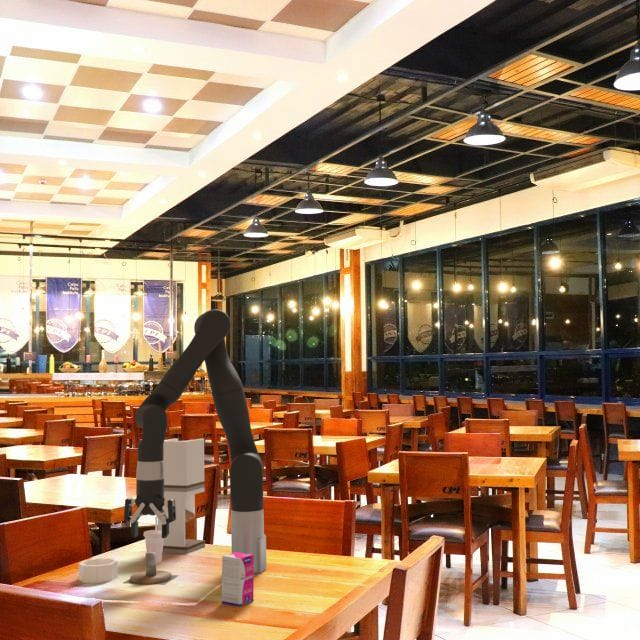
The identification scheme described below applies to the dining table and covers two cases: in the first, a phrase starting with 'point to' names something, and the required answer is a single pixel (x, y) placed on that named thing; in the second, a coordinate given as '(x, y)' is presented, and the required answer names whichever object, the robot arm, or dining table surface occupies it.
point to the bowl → (98, 570)
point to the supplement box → (237, 578)
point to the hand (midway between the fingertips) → (149, 537)
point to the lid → (150, 572)
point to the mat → (156, 583)
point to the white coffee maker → (182, 490)
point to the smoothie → (154, 542)
